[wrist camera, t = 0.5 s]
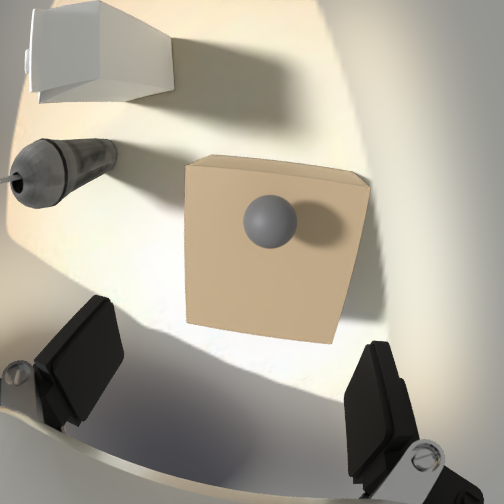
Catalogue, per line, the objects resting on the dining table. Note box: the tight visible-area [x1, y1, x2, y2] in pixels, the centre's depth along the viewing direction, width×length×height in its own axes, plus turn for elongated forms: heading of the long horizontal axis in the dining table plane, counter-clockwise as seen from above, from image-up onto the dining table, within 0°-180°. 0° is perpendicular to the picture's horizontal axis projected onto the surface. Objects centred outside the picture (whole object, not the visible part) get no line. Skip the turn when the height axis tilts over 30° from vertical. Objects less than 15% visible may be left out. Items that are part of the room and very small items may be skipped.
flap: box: [184, 165, 371, 344], centre depth 26 cm, size 17×16×6 cm
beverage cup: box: [0, 138, 117, 209], centre depth 26 cm, size 7×7×20 cm
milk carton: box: [25, 0, 175, 104], centre depth 21 cm, size 7×7×19 cm
